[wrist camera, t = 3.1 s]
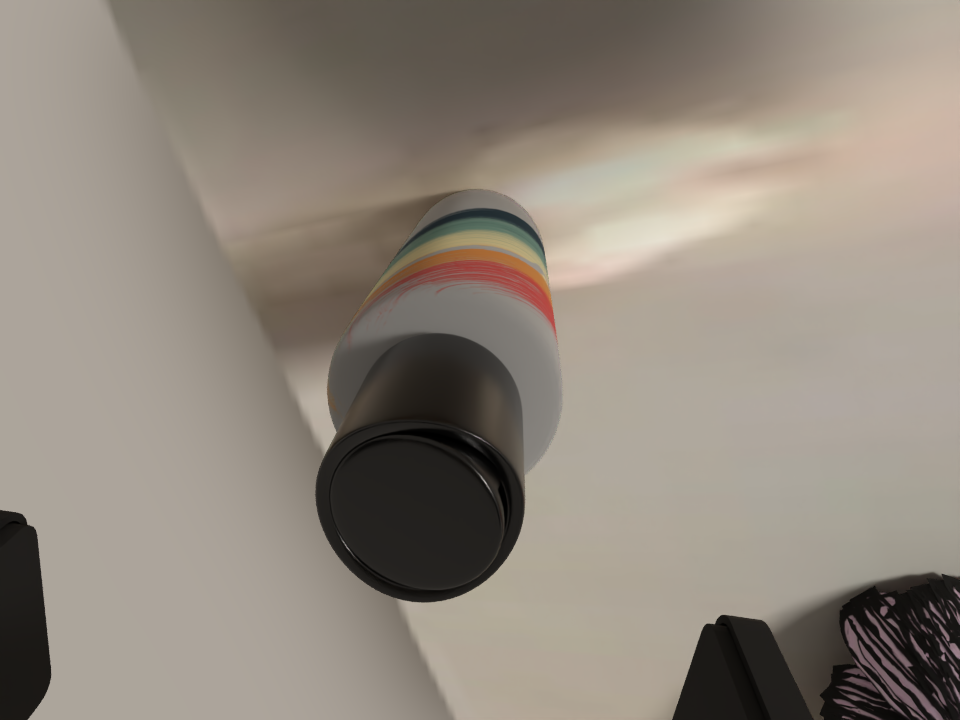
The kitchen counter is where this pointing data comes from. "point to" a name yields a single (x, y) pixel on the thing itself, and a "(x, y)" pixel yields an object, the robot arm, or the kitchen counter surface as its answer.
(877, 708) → the decorative flower
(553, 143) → the kitchen counter surface
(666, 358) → the kitchen counter surface
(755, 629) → the robot arm
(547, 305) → the lotion bottle
